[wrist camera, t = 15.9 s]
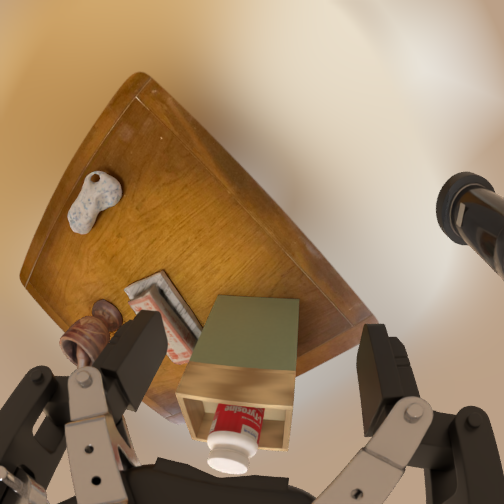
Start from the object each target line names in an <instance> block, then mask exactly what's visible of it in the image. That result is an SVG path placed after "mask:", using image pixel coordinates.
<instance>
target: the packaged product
mask: <svg viewBox="0 0 504 504" xmlns="http://www.w3.org/2000/svg"><path fill="white" fill-rule="evenodd" d="M124 291H125V292H126V293H127V295H128V296H129V298H130V301H129V302H128V303H129V305H130V306H131V308H132V309H133V311H134V312H135V313H136V315H137V314H138V313H139V311H140V310H151V311H159V312H160V313H161V316H162V320H163V324H164V328H165V332H166V336H167V340H168V349H167V353H166V354H167V355H168V357H169V358H170V359H171V360H172V362H174V363H175V364H179V365H181V364H184V363H188V362H189V360H190V357H191V355H192V353H193V350H194V348H195V346H196V344H197V341H198V339H199V337H200V335H201V332H202V330H203V328H202V327H201V325H200V323H199V322H198V320H197V319H196V317H195V315H194V314H193V312H192V310H191V309H190V308H189V306H188V305H187V304H186V302H185V301H184V300H183V299H182V297H181V296H180V294H179V293H178V291H177V290H176V288H175V287H174V286H173V284H172V283H171V281H170V280H169V278H168V277H167V275H166V274H165V272H164V271H161V272H158V273H156V274H153V275H151V276H149V277H147V278H144V279H142V280H140V281H137V282H135V283H132V284H131V285H129V286H127V287H126V288H125V289H124Z"/></svg>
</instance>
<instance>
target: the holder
mask: <svg viewBox="0 0 504 504" xmlns="http://www.w3.org/2000/svg"><path fill="white" fill-rule="evenodd" d="M295 374H296V371H290V370H272V369H258V368H246V367H235V366H226V365H217V364H208V363H200V362H193V361H189V362H188V364H187V366H186V369H185V371H184V373H183V376H182V378H181V380H180V383H179V385H178V387H177V389H176V392H175V394H176V396H177V399H178V402H179V405H180V408H181V411H182V413H183V416H184V419H185V422H186V424H187V427H188V429H189V432H190V435H191V437H192V439H193V440H197V441H203V442H207V438H208V435H209V432H210V428H211V425H212V422H213V419H214V415H215V412H216V409H217V406H218V403H221V404H228V405H237V406H246V407H256V408H265V412H264V418H263V423H262V429H261V435H260V440H259V446H258V449H262V450H275V451H288V446H289V438H290V430H291V421H292V412H293V401H294V389H295Z"/></svg>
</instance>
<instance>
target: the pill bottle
mask: <svg viewBox="0 0 504 504" xmlns="http://www.w3.org/2000/svg"><path fill="white" fill-rule="evenodd" d="M264 412H265V408H256V407H246V406H237V405H228V404H221V403H218V406H217V409H216V412H215V415H214V419H213V422H212V425H211V428H210V432H209V435H208V438H207V444H208V447H209V448H210V449H211V451H210V453H209V457H208V461H207V462H208V464H209V466H211V467H212V468H213V469H215V470H218V471H220V472H224V473H229V474H242V473H245V472H246V471H247V469H248V466H249V458H251V457H253V456H254V455H255V454H256V452H257V450H258V446H259V440H260V435H261V429H262V423H263V418H264Z"/></svg>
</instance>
